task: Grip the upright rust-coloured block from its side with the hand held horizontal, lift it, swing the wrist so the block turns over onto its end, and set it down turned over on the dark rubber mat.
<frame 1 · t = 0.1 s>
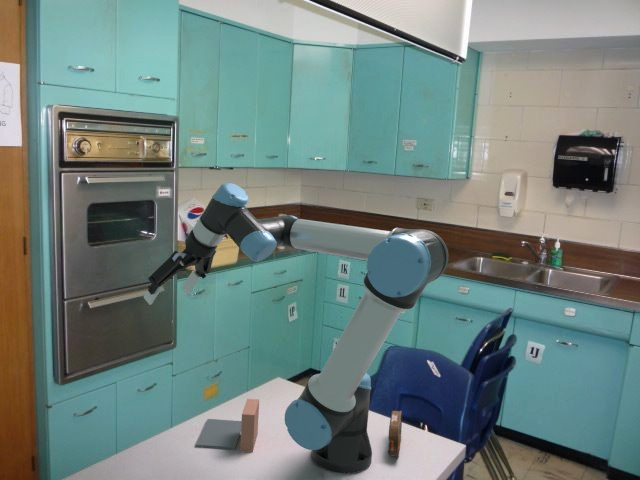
hand: (167, 295, 150), 36 cm above the table, tool tilted 35°, fingers open, 13 cm apart
tin: (393, 448, 151), on the table
block: (249, 442, 149), on the table
mat: (220, 434, 152), on the table
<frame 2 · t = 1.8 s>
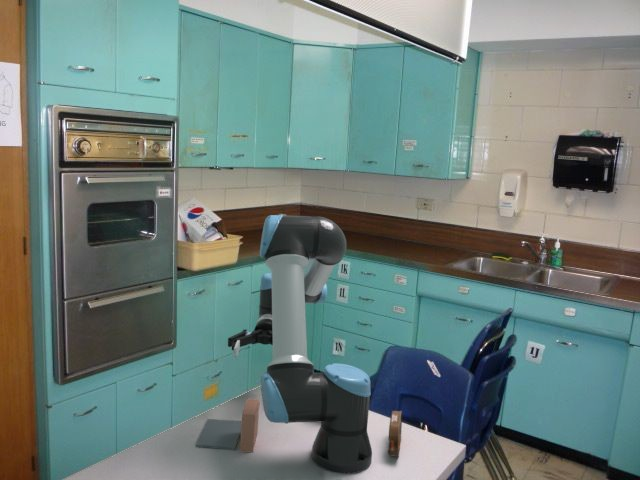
hand: (259, 354, 161), 18 cm above the table, tool horizontal, fingers open, 13 cm apart
nothing on the table moved.
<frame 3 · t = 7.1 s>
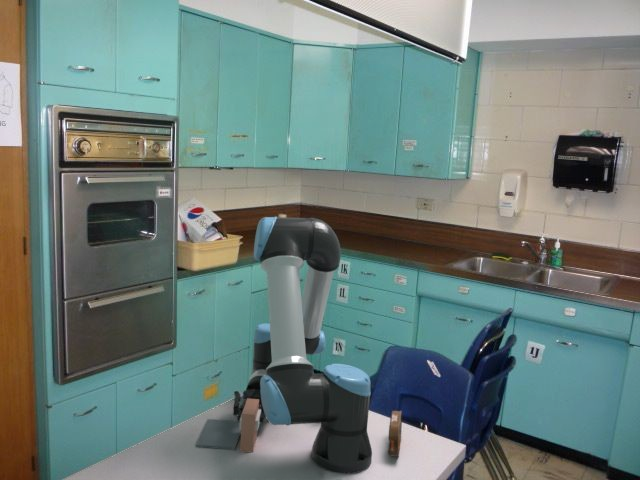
hand: (248, 425, 145), 6 cm above the table, tool horizontal, fingers closed on block, 3 cm apart
block: (249, 442, 149), on the table, touching gripper
everything else where it was.
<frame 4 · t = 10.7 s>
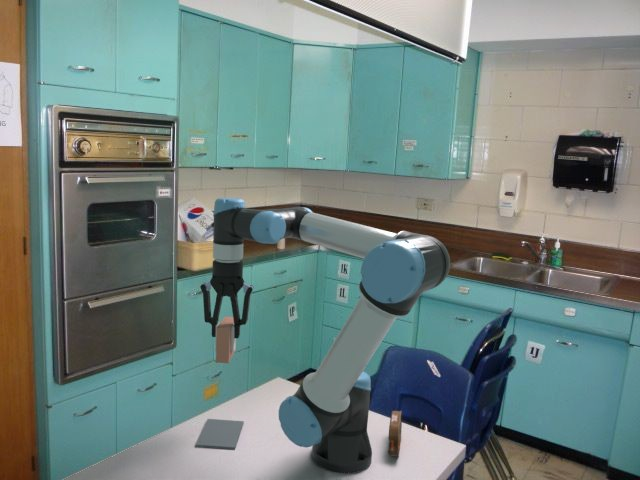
hand: (225, 349, 147), 24 cm above the table, tool pointing down, fingers closed on block, 3 cm apart
block: (230, 333, 153), point 26 cm above the table, tilted 89°, touching gripper
everything else where it was.
when the fingers open (4 cm above the table, at t = 14.2 s): block drops 1 cm, resting on mat.
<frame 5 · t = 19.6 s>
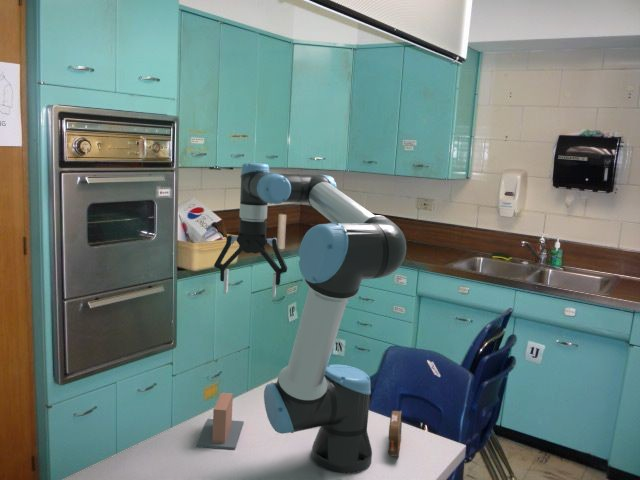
hand: (249, 294, 161), 35 cm above the table, tool pointing down, fingers open, 13 cm apart
block: (226, 408, 156), point 5 cm above the table, tilted 90°, touching mat
everything else where it was.
at the end: block inside the target area (4.2 cm from its centre), point 5.1 cm above the table; block tilted 90°; the gripper is holding nothing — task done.
